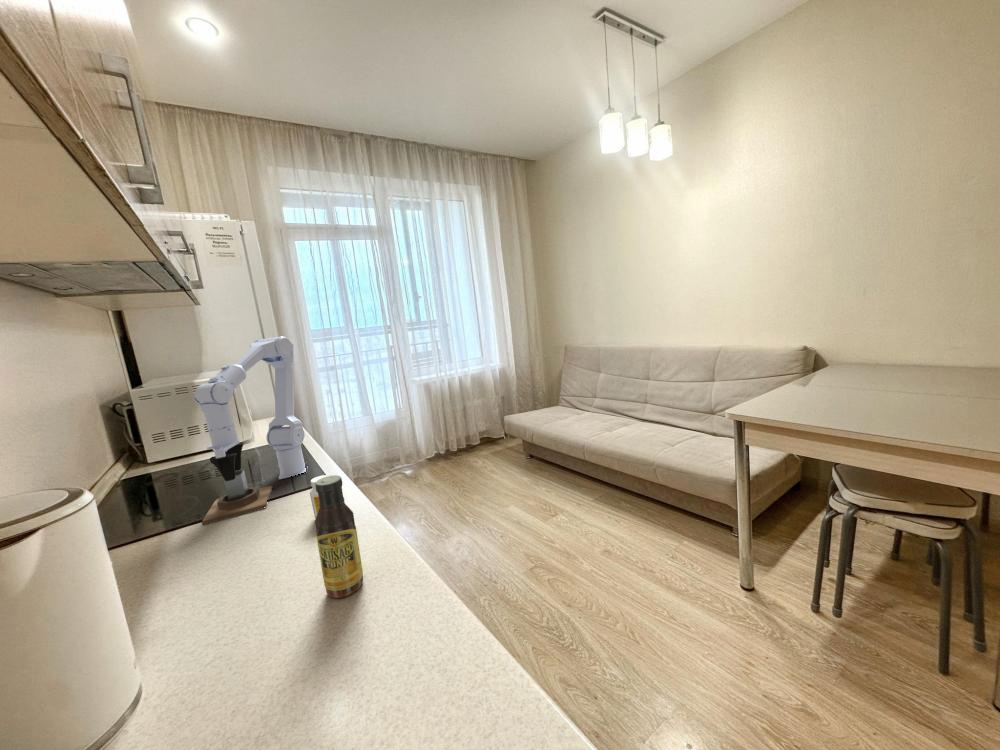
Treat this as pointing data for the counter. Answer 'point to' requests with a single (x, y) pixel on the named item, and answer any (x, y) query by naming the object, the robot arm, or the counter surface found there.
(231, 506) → the holder board
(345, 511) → the sauce bottle
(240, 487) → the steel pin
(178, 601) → the counter surface
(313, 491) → the supplement bottle
